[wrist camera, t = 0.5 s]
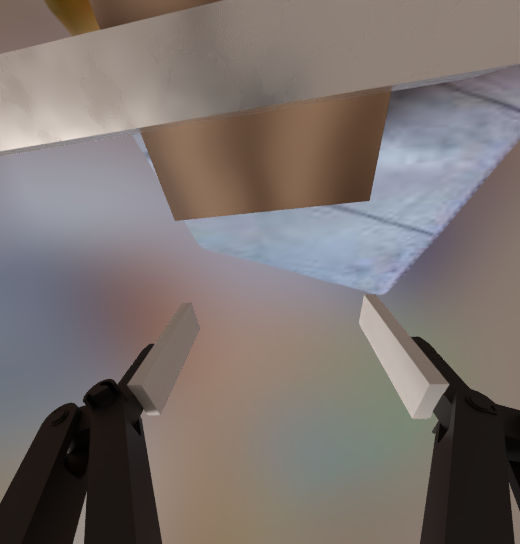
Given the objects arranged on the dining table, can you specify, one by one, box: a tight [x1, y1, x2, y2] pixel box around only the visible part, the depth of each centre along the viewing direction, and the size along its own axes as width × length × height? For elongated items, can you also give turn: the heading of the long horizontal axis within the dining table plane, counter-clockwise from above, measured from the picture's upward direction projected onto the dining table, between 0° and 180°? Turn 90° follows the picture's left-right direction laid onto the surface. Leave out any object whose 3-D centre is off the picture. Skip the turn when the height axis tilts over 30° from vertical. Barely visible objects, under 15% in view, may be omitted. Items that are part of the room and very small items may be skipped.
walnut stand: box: [89, 0, 391, 221], centre depth 23 cm, size 16×16×28 cm
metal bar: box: [0, 0, 520, 156], centre depth 10 cm, size 32×4×3 cm, turn 97°
